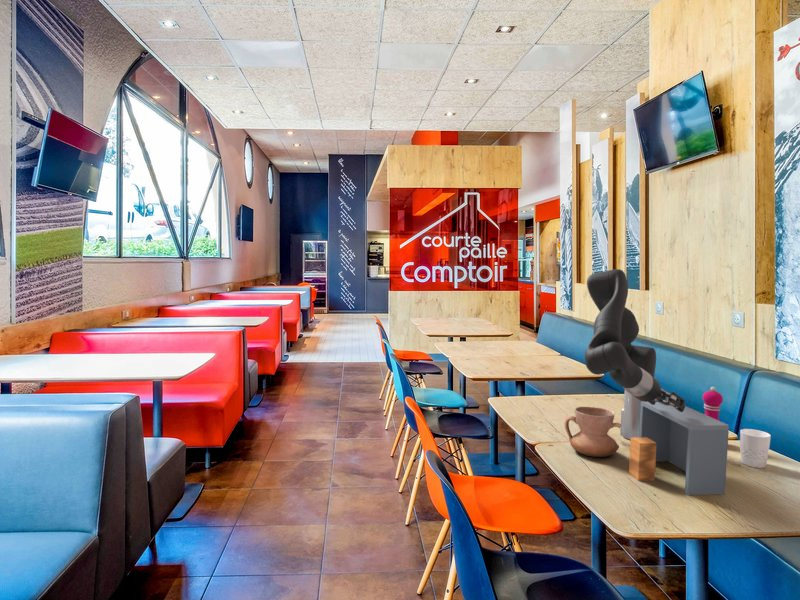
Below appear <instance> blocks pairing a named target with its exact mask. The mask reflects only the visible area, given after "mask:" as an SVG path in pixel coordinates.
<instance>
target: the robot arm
mask: <svg viewBox="0 0 800 600" xmlns="http://www.w3.org/2000/svg"><path fill="white" fill-rule="evenodd" d="M586 286H587V291H588V293H589V296H590V298H591V300H592V302H593V303H594V304H595V306H596V308H597V310H598V311H599V313H598V314H597V316H596V317H595V319H594V324H593V325H594V326H593V336H592V338H591V339H590V340H589V343H588V345H587V347H586V350H585V353H584V363H585V367H586V368H587V370H588V372H590V373H591V374H593V375H595V376H596V375H599V376H600V375H603V374H604V375H605V374H607V373H608V374H609V377H610V379H612V380H613V382H615V383H616V384H617V385H619V386H620V387H622V388H623V389H624V396H623V397H624V398H623V399H624V400H623V408H621V411H620V412H621V414H620V424H621V425H622V426H621V427H620V428H619V429H620V431H619V432H620V435H621V436H622V437H623V438H625V439H626V440H631V437H639V430H640V410H641V401H643V402H649V403H650V404H652V405H655V403H656V402H659V403H661V404H664V405H666V406H668V405H670V406H672V407H674V408H675V409H677V410H678V411H679V412H683V411H684V408H685V406H686V405H685V403H686V400H685V399H684V398H683V397H681V396H680V395H678V394H677V393H675V392H673V391H670V392H668V391H666V390H664V389H663V388H661V385H660V381H659V380H657V378H656V377H655V375H656V374H655V372H656V365H657V352H656V349H655V348H654V347H651V346H643V345H634V344H632V343H633V342H635V340H636V339H637V337H638V336H639V332H640V326H639V323H638V321H637V318H636V316H635V313H633V312H632V310H631V309H629V308H627V307H626V303H627V299H628V296H629V283H628V278H627V275H626V273H625V271H623V270H622V269H618V268H617V269H616V268H615V269H609V270H604V271H599V272H594V273H592V274H590V275H589V276H588V277H587V280H586ZM664 401H666V402H664Z"/></svg>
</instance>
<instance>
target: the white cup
mask: <svg viewBox="0 0 800 600" xmlns="http://www.w3.org/2000/svg"><path fill="white" fill-rule="evenodd" d="M739 431H740V432H739V435H740V436H739V449H740V450H739V454H740V463H741V464H742V465H745V466H749V467H752V468H756V467H757V469H763V468H766V467H767V463H768V462H767V461H768V458H769V450H770V445H771V439H772V438H771V434H770V433H768V432H767V431H762V430H758V429H752V428H743V429H740V430H739Z"/></svg>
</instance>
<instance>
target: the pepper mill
mask: <svg viewBox="0 0 800 600" xmlns="http://www.w3.org/2000/svg"><path fill="white" fill-rule="evenodd" d="M709 389H710V390H708V391H705V392H704V393H703V394H702V401H703V402H704V403H703V408H704V414H705V415H707V416H709V417H711V418H714V419H716V420H718V421H720V419H719V414H720V413H719V412H720V410H721V407H722V406H721V404H722V403H723V400H724V399H723V395H722V394H721V393H720V392H718V391H717V387H715V386H711V387H710V388H709Z"/></svg>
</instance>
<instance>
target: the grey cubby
mask: <svg viewBox="0 0 800 600" xmlns="http://www.w3.org/2000/svg"><path fill="white" fill-rule="evenodd" d="M664 402H666V400H664ZM684 406H685V408H684V411H683V412H679V411H678V410H677V409H675V408H674V407H672V406H670V405H668V406H666V405H664V404H661V403H659V402H656V403H655V405H652V404H650V403H649V402H643V401H641V410H640V430H639V437H647V438H649V439H650V440H652V441H654V442H655V443H656V462H669V463H671V464H672V465H674V466H676V467H678V469H681V470H682V471H684V472H685V483H684V485H685V487H684V494H685V495H687V496H701V495H704V496H705V495H725V493H726V479H727V462H728V461H727V460H728V446H729V432H730V431H729V430H730V425H729V424H727V423H725V422H723V421H720V420H719V421H718V420H716V419H714V418H711V417H709V416H707V415H705V413H702V412H700V411H698V410H695V409H693V408H690V407H689V406H686V405H684Z"/></svg>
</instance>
